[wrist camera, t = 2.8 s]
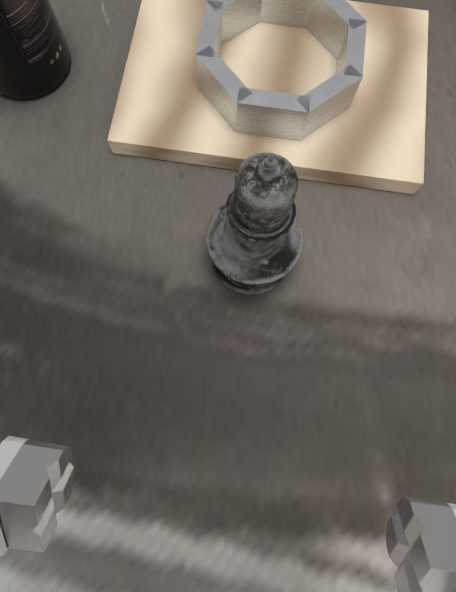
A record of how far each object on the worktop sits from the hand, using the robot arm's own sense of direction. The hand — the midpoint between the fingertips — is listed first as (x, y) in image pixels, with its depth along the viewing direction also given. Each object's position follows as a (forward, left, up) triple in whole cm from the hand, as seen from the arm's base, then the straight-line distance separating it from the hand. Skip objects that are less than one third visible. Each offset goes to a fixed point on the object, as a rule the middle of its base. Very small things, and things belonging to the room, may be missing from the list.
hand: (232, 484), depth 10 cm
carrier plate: (0, +26, -16) cm, 30 cm away
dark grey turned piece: (0, +12, -16) cm, 20 cm away
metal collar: (0, +26, -14) cm, 29 cm away
